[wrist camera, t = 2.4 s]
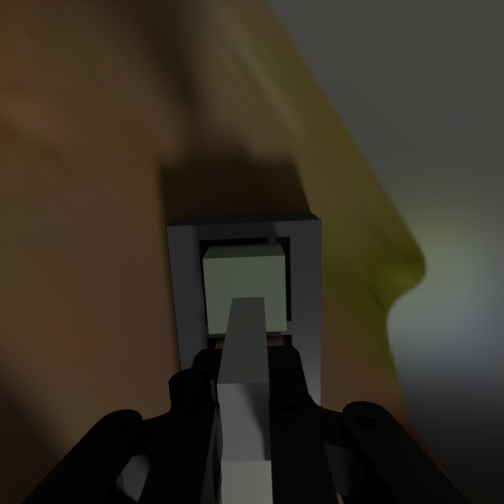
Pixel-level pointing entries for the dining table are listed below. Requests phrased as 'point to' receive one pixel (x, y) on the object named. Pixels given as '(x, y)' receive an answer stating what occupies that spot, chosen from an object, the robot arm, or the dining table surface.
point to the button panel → (296, 280)
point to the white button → (246, 482)
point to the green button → (245, 282)
